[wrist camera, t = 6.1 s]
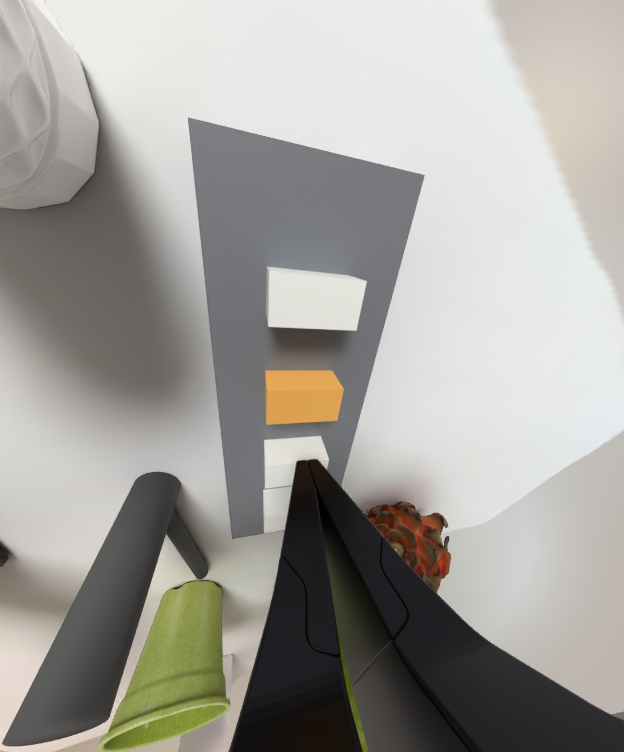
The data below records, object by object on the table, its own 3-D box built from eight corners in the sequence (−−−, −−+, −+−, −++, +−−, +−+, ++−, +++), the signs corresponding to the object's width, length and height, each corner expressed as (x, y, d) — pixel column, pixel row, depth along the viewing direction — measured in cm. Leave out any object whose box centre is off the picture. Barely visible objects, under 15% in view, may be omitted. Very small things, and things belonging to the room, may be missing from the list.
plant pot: (155, 572, 22) (106, 732, 15) (248, 570, 26) (245, 697, 19) (137, 614, 26) (89, 762, 18) (221, 606, 29) (210, 727, 22)
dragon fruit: (343, 484, 25) (403, 489, 31) (324, 573, 23) (392, 558, 29) (419, 524, 18) (475, 520, 24) (401, 655, 16) (466, 612, 23)
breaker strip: (318, 475, 20) (337, 546, 16) (236, 485, 19) (230, 567, 14) (371, 197, 11) (462, 159, 6) (212, 165, 9) (166, 77, 4)
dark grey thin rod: (210, 565, 24) (208, 579, 23) (198, 568, 24) (195, 583, 23) (175, 503, 18) (170, 519, 17) (159, 507, 18) (153, 522, 17)
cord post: (183, 495, 18) (119, 720, 9) (139, 501, 17) (27, 749, 9) (176, 469, 16) (94, 707, 8) (128, 474, 16) (-18, 741, 7)
